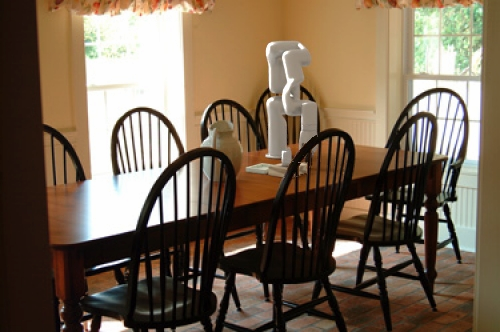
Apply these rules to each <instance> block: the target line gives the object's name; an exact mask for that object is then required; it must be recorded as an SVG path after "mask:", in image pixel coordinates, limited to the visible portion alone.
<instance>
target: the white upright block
mask: <svg viewBox="0 0 500 332" xmlns="http://www.w3.org/2000/svg"><path fill="white" fill-rule="evenodd" d="M292 153H293V152H292V150H283V151H282V158H281V163H282V167H288V166H289V164H290V163H291V161H292V162H293V160H292Z"/></svg>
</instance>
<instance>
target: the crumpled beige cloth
mask: <svg viewBox="0 0 500 332" xmlns="http://www.w3.org/2000/svg"><path fill="white" fill-rule="evenodd" d="M300 163H301V164H300V166H299V176H301V175H300V174H303V175H305V174H304V173H306V174H308V173H307V164H305V163H303V162H300ZM272 165H273V166H269V167H268V168H269V173H268V176H272V177H280V178H284V177H283V176H284V174H285V172H286V170H287V168H288V167H282V162H281V163H280V162H279V163H277V164H272ZM293 178H296V177H295V174H294V177H293Z"/></svg>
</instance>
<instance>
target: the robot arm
mask: <svg viewBox="0 0 500 332" xmlns="http://www.w3.org/2000/svg"><path fill="white" fill-rule="evenodd" d="M265 57H266V61H267V64H268V87H269V89H268V90H269V91H270V93H272V94H282V95H275V96H271V97H269V98H267V101H266V104H265V106H266V107H265V108H266V112H267V123H268V124H267V126H268V127H267V128H268V130H267V134H268V139H267V140H268V141H267V142H268V143H267V145H268V153H265V154H264V155H265V156H264V157H265V158H267V159H274V160H275V159H278V160H279V159H281V160H282V151H283V150H290V151H292V150H291V147H290V146H289V147H288V146H287V143H288V141H287V139H288V134H287V130H288V129H287V126H288V125H287V121H286V118H285V117H284V116H283V115H287V116H289V117H298V116H300V133H299V141H298V142H299V143H298V151H299V150H300V149H301V148H302V147H303V145H304V144H305V143H307V142H308V141H309V140H310V139H311V138H312V137H314V136H315V135H317V136H318V103H317V102H315V101H312V100H309V99H301V96H300V95H301V93H300V91H301V90H300V89H301V85H300V84H302V83H303V82H304V81H305V76H304V71H303V67H309V66H310V65H311V62H312V55H311V53H310V51H309V49H307V47H306V46H305V45H304V44H303V43H301V42H300V41H297V40H278V41H277V40H275V41H271V42H269V43H268V44H267V46H266V49H265ZM318 147H319V146H318V144H317V145H316V146H315V147H314V148H313V149H312V151H311V166H310V167H312V166H313V158H314V154H315V153H316V151H317V150H318ZM304 162H308V154H307V156H306V157H304Z"/></svg>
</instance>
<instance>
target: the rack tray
mask: <svg viewBox="0 0 500 332" xmlns="http://www.w3.org/2000/svg"><path fill="white" fill-rule="evenodd" d="M273 165H274V164H270V163H258V164H255V165H251V166H245V172H247V173H251V174H258V175H259V174H260V175H267V174H268V175H269V168H268V167H269V166H273Z"/></svg>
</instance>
